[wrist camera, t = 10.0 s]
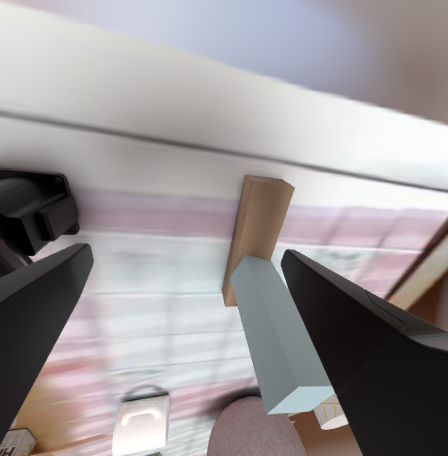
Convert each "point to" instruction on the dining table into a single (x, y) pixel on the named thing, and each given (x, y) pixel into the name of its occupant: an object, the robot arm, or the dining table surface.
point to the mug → (141, 425)
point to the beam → (256, 224)
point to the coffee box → (17, 443)
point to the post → (278, 340)
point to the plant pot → (253, 432)
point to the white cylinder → (330, 413)
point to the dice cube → (156, 455)
